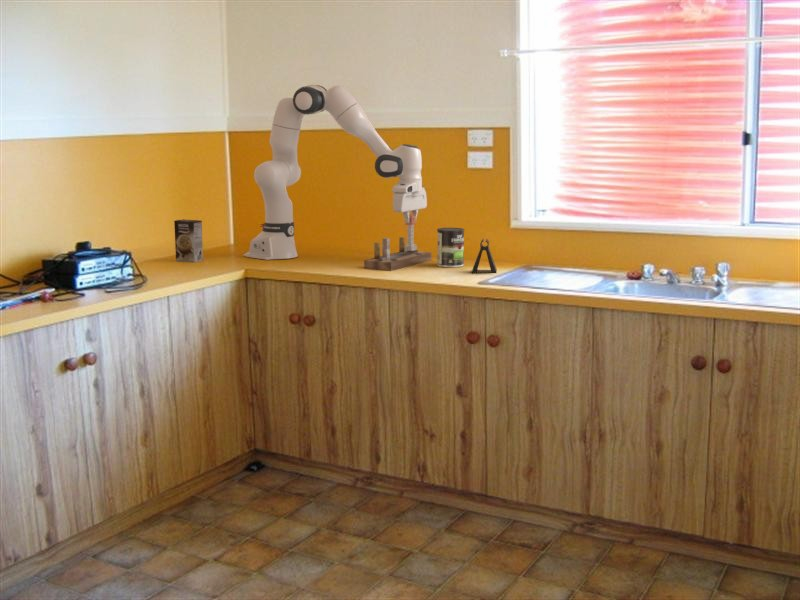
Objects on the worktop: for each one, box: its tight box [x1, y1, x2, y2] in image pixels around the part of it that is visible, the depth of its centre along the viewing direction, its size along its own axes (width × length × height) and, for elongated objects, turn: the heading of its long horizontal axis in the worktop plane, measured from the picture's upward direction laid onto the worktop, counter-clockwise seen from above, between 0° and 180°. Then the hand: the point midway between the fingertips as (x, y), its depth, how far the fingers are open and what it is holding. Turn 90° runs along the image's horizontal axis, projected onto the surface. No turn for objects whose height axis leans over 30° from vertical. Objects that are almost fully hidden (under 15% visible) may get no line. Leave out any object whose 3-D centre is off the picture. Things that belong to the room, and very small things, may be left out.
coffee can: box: [436, 227, 465, 268], centre depth 375 cm, size 10×10×14 cm
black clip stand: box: [471, 238, 498, 274], centre depth 360 cm, size 9×6×12 cm, turn 82°
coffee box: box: [173, 218, 204, 263], centre depth 389 cm, size 9×6×16 cm
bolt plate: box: [363, 236, 432, 272], centre depth 380 cm, size 12×30×11 cm, turn 148°
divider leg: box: [404, 213, 418, 251], centre depth 386 cm, size 3×4×14 cm
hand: (410, 222), depth 385 cm, fingers closed on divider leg, 3 cm apart
